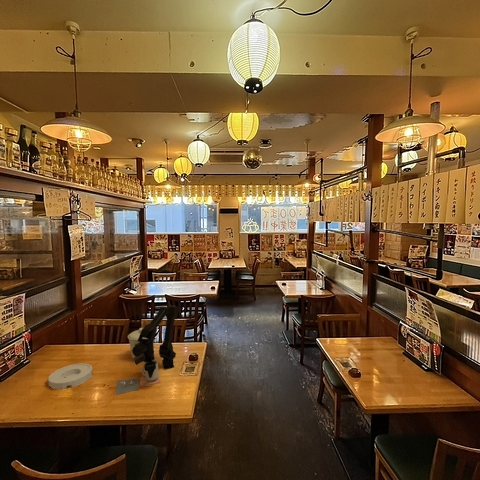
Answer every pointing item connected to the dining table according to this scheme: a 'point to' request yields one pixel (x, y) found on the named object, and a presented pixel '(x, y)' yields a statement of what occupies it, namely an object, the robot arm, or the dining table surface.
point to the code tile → (127, 385)
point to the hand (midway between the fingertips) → (149, 374)
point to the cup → (155, 373)
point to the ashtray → (70, 376)
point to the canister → (134, 339)
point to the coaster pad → (145, 382)
